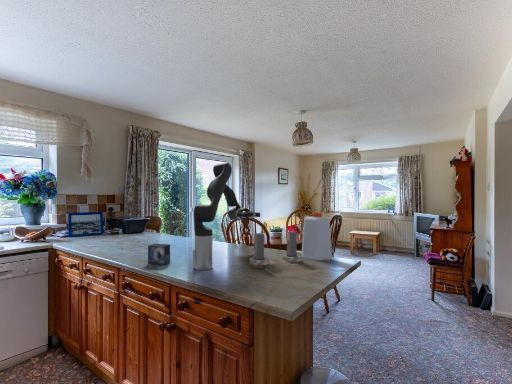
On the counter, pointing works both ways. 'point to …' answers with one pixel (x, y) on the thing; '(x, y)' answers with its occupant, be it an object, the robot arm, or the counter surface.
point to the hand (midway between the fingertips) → (252, 215)
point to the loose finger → (259, 246)
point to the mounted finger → (291, 244)
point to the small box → (159, 254)
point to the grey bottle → (316, 238)
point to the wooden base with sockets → (273, 261)
